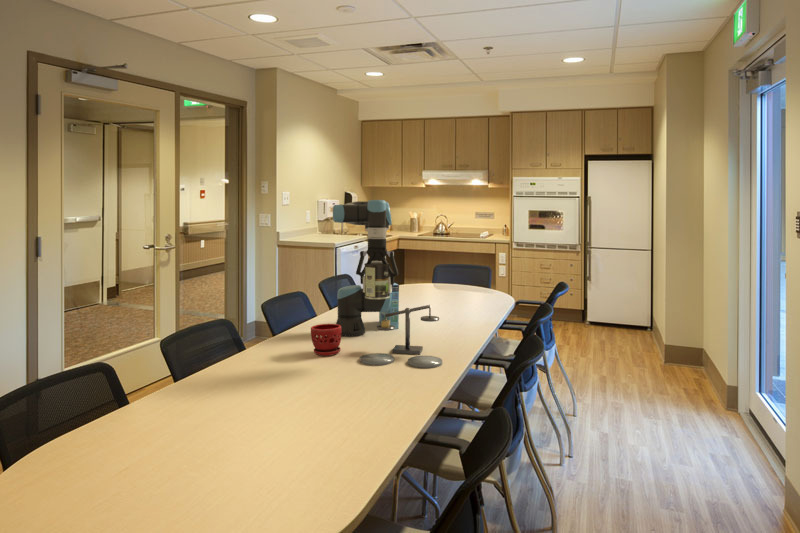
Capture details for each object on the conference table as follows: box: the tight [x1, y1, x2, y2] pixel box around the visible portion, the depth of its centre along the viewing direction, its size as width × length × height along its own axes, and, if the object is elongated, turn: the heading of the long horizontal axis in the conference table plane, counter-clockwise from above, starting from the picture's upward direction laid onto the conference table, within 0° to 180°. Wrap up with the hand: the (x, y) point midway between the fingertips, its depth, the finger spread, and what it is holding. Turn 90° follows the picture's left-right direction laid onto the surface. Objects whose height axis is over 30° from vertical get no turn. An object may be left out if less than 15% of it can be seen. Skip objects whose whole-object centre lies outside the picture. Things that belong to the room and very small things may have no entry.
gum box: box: [378, 282, 400, 330], centre depth 304 cm, size 20×5×23 cm, turn 18°
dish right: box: [407, 355, 443, 369], centre depth 237 cm, size 14×14×1 cm
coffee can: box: [364, 262, 391, 299], centre depth 239 cm, size 10×10×14 cm
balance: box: [376, 304, 440, 356], centre depth 253 cm, size 27×8×21 cm, turn 79°
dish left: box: [359, 352, 395, 367], centre depth 241 cm, size 14×14×1 cm
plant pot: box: [310, 323, 342, 357], centre depth 252 cm, size 13×13×12 cm
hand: (377, 292), depth 240 cm, fingers closed on coffee can, 10 cm apart
